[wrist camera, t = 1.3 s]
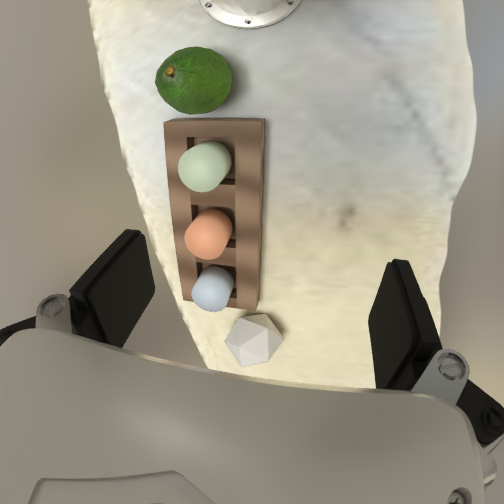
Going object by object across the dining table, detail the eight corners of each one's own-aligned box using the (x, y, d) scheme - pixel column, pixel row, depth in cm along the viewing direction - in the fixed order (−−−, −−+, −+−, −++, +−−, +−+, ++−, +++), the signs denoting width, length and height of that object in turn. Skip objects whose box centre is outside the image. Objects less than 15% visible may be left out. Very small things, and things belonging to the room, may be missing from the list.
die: (248, 342, 56) (274, 378, 48) (209, 337, 51) (233, 378, 43) (271, 307, 54) (301, 342, 47) (232, 298, 49) (261, 337, 41)
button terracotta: (193, 207, 39) (182, 220, 35) (232, 210, 38) (224, 224, 35) (196, 241, 41) (186, 257, 38) (232, 245, 41) (225, 261, 37)
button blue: (198, 264, 43) (189, 280, 40) (233, 268, 43) (226, 285, 39) (201, 291, 46) (193, 308, 43) (234, 296, 45) (228, 314, 42)
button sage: (189, 140, 34) (176, 147, 30) (231, 140, 33) (222, 147, 30) (191, 180, 37) (179, 191, 33) (231, 182, 36) (223, 193, 32)
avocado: (251, 64, 30) (224, 54, 20) (225, 119, 35) (190, 135, 25) (193, 43, 30) (146, 32, 20) (171, 97, 34) (119, 107, 24)
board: (173, 118, 35) (163, 122, 33) (264, 118, 34) (261, 121, 31) (189, 288, 50) (183, 300, 48) (258, 298, 49) (255, 310, 46)
